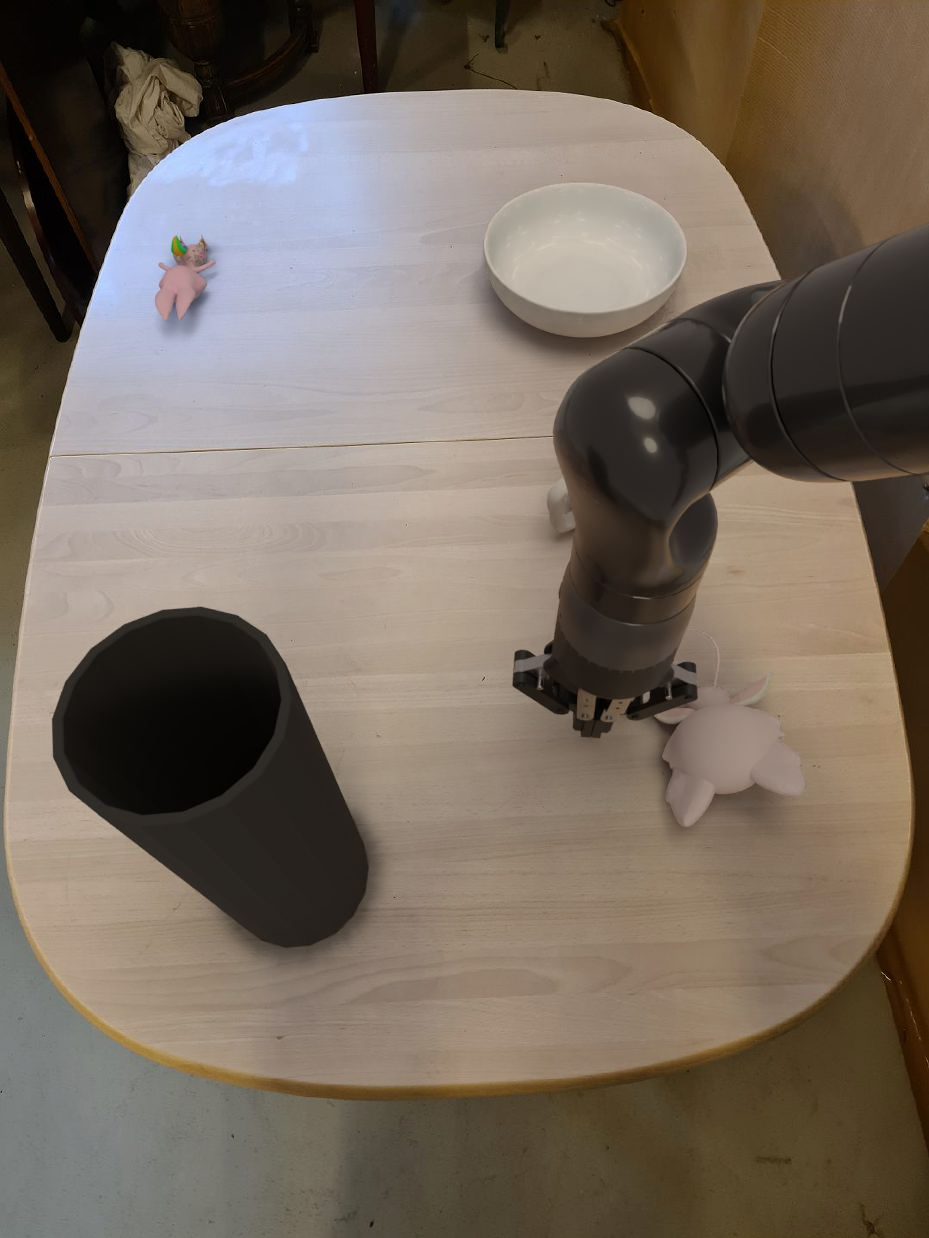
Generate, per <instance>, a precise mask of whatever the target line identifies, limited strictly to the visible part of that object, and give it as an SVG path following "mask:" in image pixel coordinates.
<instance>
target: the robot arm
mask: <svg viewBox="0 0 929 1238" xmlns="http://www.w3.org/2000/svg"><path fill="white" fill-rule="evenodd" d="M552 443H553V448H554V453H555V456H556V460H557V463H558V466H559V470H560V471H561V475H562V477H564V480H565V484H566V487H567V491H568V495H569V497H568V500H569V503H570V508H571V511H572V512H573V515H574V519H575V523H576V526H575V528H574V533H573V539H572V545H571V551H570V557H569V560H568V562H567V565H566V568H565V570H564V573H563V577H562V580H561V583H560V586H559V589H558V605H557V613H556V619H555V626H554V633H553V638H552V640H551V641H549V642H548V643H547V644H546V645H545V646H544V648H543V654H539V655H535V654H534V653H533V652H531V651H530V650H527V649H518V650H516V651H514V652H513V653H514V654H513V669H512V683H511V685H512V688H514V689H515V690H517V691H518V692H520V693H522V694H523V695H525V696H526V697H528V698H530V699H531V700H532V701H534V702H536V703H537V704H539V706H541V707H543V708H545V709H547V710H548V711H550V712H551V713H553V714H554V715H558V716H566V715H568V714H569V713H570V712H572V729H573V731H575V732H580V738H586V739H587V738H588V739H591V738H592V739H601V737H602V734H608V733H609V732H611V731H612V727H613V725H614V722H616V721H618V719H619V718H620V716H625V715H626V719H627V720H629V721H635V722H636V721H637V722H638V721H642V720H644V719H647V718H650V717H654V716H653V715H656V714H659V713H662V712H664V711H667V710H670V709H673V708H680V707H681V706H684V705H687V703H690V702H693V701H695V700H697V699H698V692H697V689H699V687H698V686H699V685H698V683H699V682H698V672H697V664H696V663H695V662H693V661H683V662H680V663H677V664H676V663H674V661H675V657H676V654H677V652H678V650H679V648H680V645H681V643H682V640H683V639H684V636H685V634H686V632H687V631H686V629H688V627H689V624H690V621H691V619H692V617H693V614H694V609H695V607H696V606H695V605H696V600H697V592H698V590H699V587H700V586H701V583H702V580H703V578H704V575H705V573H706V571H707V568H708V566H709V563H710V560H711V558H712V554H713V552H714V549H715V547H716V546H715V545H716V542H717V537H718V536H717V535H718V530H719V515H718V509H717V506H716V502H715V499H714V497H713V495H712V493H711V492H712V491H714V490H715V489H716V488H718V487H720V486H721V485H722V484H724V483H725V482H727V481H729V480H730V479H731V478H733V477H734V476H736V475H737V474H739V473H740V472H741V471H743V470H745V469H746V468H748V467H749V466H750V465H753V464H754V463H755V464H757V466H759V467H760V468H763V469H764V470H766V471H767V472H769V473H772V474H773V475H775V476H778V477H781V478H784V479H786V480H790V481H791V480H792V481H794V482H803V483H813V484H815V483H817V484H838V483H839V484H840V483H854V482H855V483H856V482H867V481H879V480H891V479H900V478H911V477H922V476H923V477H925V476H929V221H928V222H925V223H923V224H921V225H918V226H916V227H913V228H910V229H907V230H905V231H903V232H900V233H898V234H894V235H892V236H890V237H888V238H885V239H882V240H879V241H877V242H875V243H872V244H870V245H867V246H864V247H862V248H859V249H857V250H854V251H852V252H849V253H847V254H845V255H842V256H839V257H836V258H834V259H832V260H828V261H827V262H825V263H821V264H819V265H817V266H816V267H813V268H811V269H809V270H807V271H804V272H802V273H800V274H798V275H796V276H794V277H789V278H783V279H777V280H776V279H775V280H772V281H766V282H760V283H755V284H751V285H747V286H744V287H741V288H737V289H734V290H731V291H728V292H726V293H722V294H719V295H718V296H715V297H713V298H710V299H707V300H706V301H703V302H702V303H698V304H697V305H695V306H692V307H691V308H689V309H687V310H684V311H683V312H681V313H679V314H678V315H676V316H674V317H672V318H670V319H669V320H667V321H665V322H664V323H662V324H660V325H659V326H657V327H655V328H654V329H651V331H648V332H647V333H645V334H644V335H642V336H640V337H639V338H637V339H635V340H634V341H632V342H630V343H629V344H627V345H625V346H623V347H622V348H620V349H618V350H617V351H615V352H613V353H610V355H608V356H606V357H604V358H602V359H601V360H599V361H597V362H595V363H594V364H592V365H591V366H589V367H588V368H586V370H585V371H583V372H582V373H581V374H580V375H578V376H577V378H576V379H575V380H574V381H573V382H572V383H571V385H570V386H569V388H568V389H567V391H566V392H565V394H564V396H563V398H562V401H561V402H560V405H559V407H558V409H557V411H556V414H555V418H554V422H553V428H552ZM647 693H649V697H648V700H647V701H646V702H644V695H645V694H647Z"/></svg>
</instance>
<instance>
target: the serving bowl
mask: <svg viewBox="0 0 929 1238" xmlns="http://www.w3.org/2000/svg"><path fill="white" fill-rule="evenodd" d="M485 228H486V229H485V231H484V236H483V239H482V240H483V241H482V248H483V249H482V252H483V259H484V266H485V269H486V273H487V277H488V279H489V282H490V284H491V286H492V288H493V290H494V292H495V294H496V295H497V296H498V298H499V300H500V301H501V302H502V303H503V305H505V306H506V308H507V309H508V310H510V312H512V313H513V314H514V315H516V316H517V317H518V318H519V319H520V320H522V321H523V322H525V323H527V324H528V325H531V326H533V327H534V328H537V329H539V330H541V331H544V332H548V333H550V334H554V335H559V336H563V337H570V338H598V337H605V336H610V335H613V334H618V333H621V332H624V331H627V330H629V329H631V328H633V327H635V326H637V325H639V324H641V323H643V322H644V321H646V320H648V319H649V318H650V317H651V316H653V314H655V313H657V311H658V310H660V309H661V308H662V306H664V304H665V303H666V302H667V301H668V300H669V298H671V295H672V294H673V293H674V291H675V289H676V287H677V285H678V284H679V281H680V280H681V277H682V275H683V272H684V270H685V268H686V265H687V260H688V243H687V238H686V235H685V233H684V230H683V229H682V227H681V226H680V224H679V222H678V221H677V219H675V218H674V217H673V215H672V214H671V213H669V211H668V210H666V209H665V208H664V207H663V206H661V205H660V204H659V203H657V202H656V201H654V200H652V199H650V198H649V197H647V196H644V195H642V194H640V193H637V192H635V191H633V190H629V189H626V188H624V187H619V186H615V185H610V184H605V183H598V182H597V183H596V182H585V181H583V182H582V181H579V182H578V181H574V182H573V181H572V182H562V183H554V184H550V185H544V186H540V187H537V188H534V189H531V190H528V191H526V192H523V193H522V194H519V195H518V196H516V197H514V198H512V199H510V200H509V201H508V202H505V204H503V206H502V207H500V208H499V209H498V210H497V211H496V213H494V214H493V216H492V217H491V219H490V220H489V222H488V224H487V226H486V227H485Z"/></svg>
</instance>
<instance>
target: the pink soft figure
mask: <svg viewBox="0 0 929 1238" xmlns="http://www.w3.org/2000/svg"><path fill="white" fill-rule="evenodd" d="M200 236H201V238H199V240H198V243H197V244H188V245H186V244H185V242H184V241H183V239H182V236H181V235H179V237H178V235H175V236H174V237H173V238H172V240H171V245H170V251H171V253H172V257H173V259H174V261H175V262H176V264H177V265H173V266H171V267H170V266H167V265H165V263H164V262H159V263H157V265H158V267H159V268H160V269H162V270H164V271H165V272H164V274H163V276H162V277H161V278H160V280H159V283H158V287H159V290H158V291H156V294H155V297H154V305H155V308H156V310H157V312H158V313H159V315H160V317H161V318H162V320H164V321H165V322H167V321H168V320H169V317H170V314H171V312H172V309H173V306H174V304H175V311H176V315H177V320H178V321H181V320H182V319H183V318H184V317H185V315H186V314H187V311H188V309H189V307H190V306H191V304H192V302H193V301H195V300H196V299H198V297H199V296H200V295H201V294H202V293H203V291H205V289H206V288H207V286H208V282H207V280H206V279H205V278H204V277H203V276H201V275H200V273H202V272H204V271H205V270H208V269H209V268H211V267H213V266H215V265H216V261H215V260H214V259H211V260H209V261H207V259H208V253H207V248H209V245H208V243H207V242H206V240H205V239H204V237H203V234H200ZM206 247H207V248H206ZM206 262H207V263H206Z"/></svg>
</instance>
